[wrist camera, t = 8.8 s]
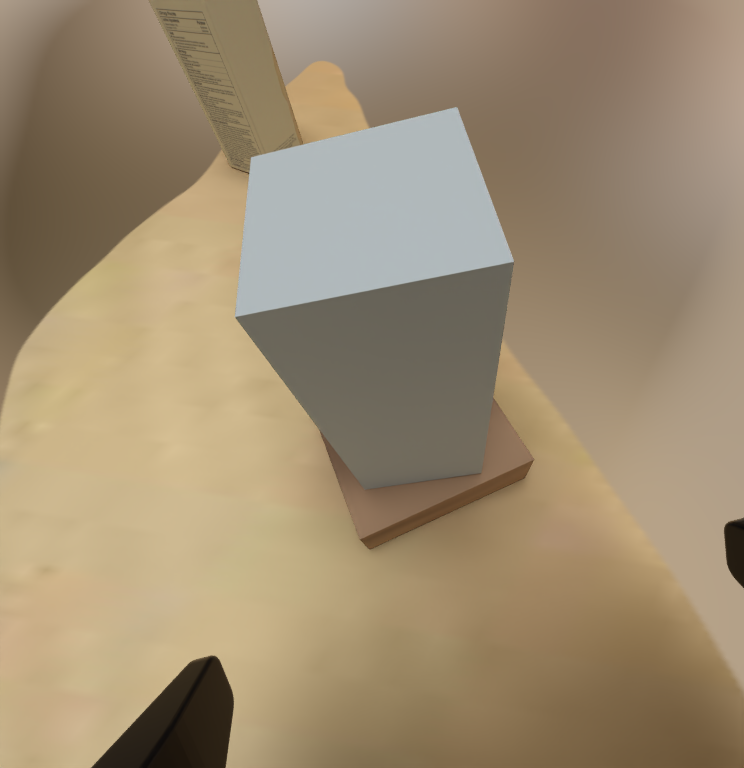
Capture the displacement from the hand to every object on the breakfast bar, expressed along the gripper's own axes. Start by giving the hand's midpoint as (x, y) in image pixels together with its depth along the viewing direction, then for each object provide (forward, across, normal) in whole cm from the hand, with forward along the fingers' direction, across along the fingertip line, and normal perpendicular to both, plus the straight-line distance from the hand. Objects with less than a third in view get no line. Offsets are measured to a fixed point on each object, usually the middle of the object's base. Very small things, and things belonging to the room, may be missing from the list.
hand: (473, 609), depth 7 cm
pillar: (+12, 0, +1) cm, 12 cm away
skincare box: (+35, +5, -19) cm, 40 cm away
